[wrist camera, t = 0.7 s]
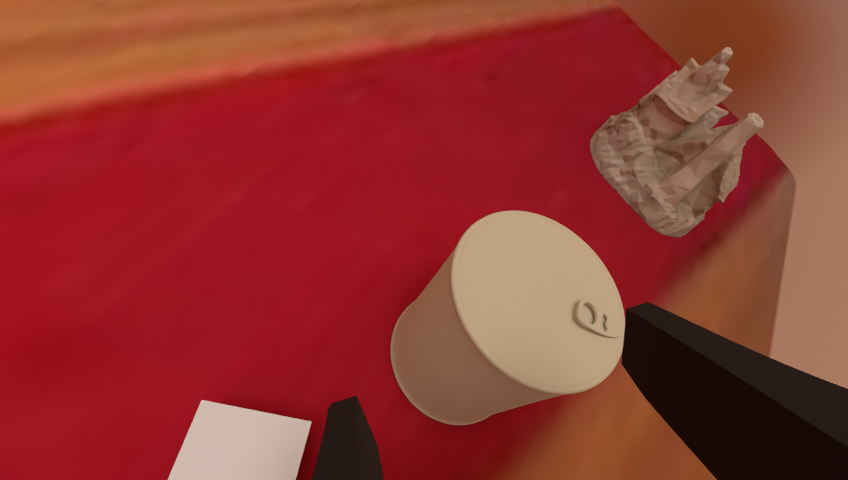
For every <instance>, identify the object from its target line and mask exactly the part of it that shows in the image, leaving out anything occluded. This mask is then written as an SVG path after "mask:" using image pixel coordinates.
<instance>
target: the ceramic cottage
mask: <svg viewBox="0 0 848 480" xmlns="http://www.w3.org/2000/svg"><path fill="white" fill-rule="evenodd" d="M732 54H733V52H732V50H731V48H728V47H726V48H724V49H723V50H722V51H721V52H720V53H718V54H717V55H715V56H714V57H713V58H712V59H711V60H710V61H708V62H707V63H705V64H704V65H703V66H699V65H698V64H697V63H696V62H695V60H694V59H693V58H691V59H689V60H688V62H687V63H686V64H685V65H684V66H683V67H682V68H681V69H680V71H679V72H677V71H675V72H673V73H672V74H671V75H669V76H668V77H667V78H666V79H665V80H664V81H663V82H662V83H661V84H659V85H658V86H657V87H655V88H654V89H653V90H652V91H651V92H650V93H648V94H647V95H646V96H644V97H643V98H641V99H640V100H639V102H638V104H637V105H636V106H634V107H633V108H632V109H630V110H628V111H627V112H621V113H620V114H619V115H616V116H613V115H611V116H610V117H609V119H608V120H607V121H606V122H605V123H604V124H603V125H601V127H600V128H599V129H598V130H597V131H596V132H595V134H594V135H593V138H592V139H591V141H590V149H591V153H592V157H593V159H594V161H595V164H596V166H597V168H598V170H599V172H600V173H601V174H602V175H603V177H604V178H605V179H606V180H607V181H608V182H609V184H610V185H611V186H612V187H613V188H614V189H616V190H617V192H618V193H619V194H620V195H621V196H622V197H623V199H624V200H625V201H626V202H627V203H628V204H629V205H630V206H631V207H632V208H633V209H634V210H635V211H636V213H637V214H638V215H639V216H640V217H641V218H642V219H643V220H644V221H645V222H646V223H647V224H648V225H649V226H650V227H652V228H653V229H655V230H657V231H658V232H660V233H661V234H663V235H668V236H672V237H682V236H683V235H685V234H687V233H688V232H689V231H690V230H691V229H693V228H694V227H695V226H696V225H697V224H698V223H700V222H701V221H702V220H703V219H704V215H705V212H706V211H708V210H709V209H710V208H711V207H712V206H713V203H714V202H720V203H723V202H724V200H725V198H726V197H727V195H728V193H730V192H731V191H732V190H733V189H734V188H735V187H736V186H737V183H738V180H739V179H738V176H739V175H740V172H739V169H740V162H741V158H742V149H743V146H744V145H745V144H746V142H745V141H747V140H748V139H749V138H750V137H751V136H753V135H754V134H755V133H756V132H758V131H759V130H760V129H761V128H762V127H763V125H764V121H763V120H762V119H761V117H760V116H759V115H758V114H755V113H750V114H747V115H746V116H745V117H744V118H742V119H741V120H739V121H737V122H736V123H735V124H732V125H726V126H722V127H717V128H714V129H711V128H712V127H713V126H714V125H715V124H716V123H717V122H718V121H719V120H720V119H721V118H723V117H724V116H726V115H727V114H728V111H726V110H724V109H721V108H719V107H717V106H716V105H717V104H719V103H720V102H721V101H722V100H724V99H725V98H726V97H727V96H728V95H729V94H730V93H731V92H732V91H733V90H732V89H730V88H728V87H727V86H725V85H724V84H722V83H723V80H724V78H725V76H726V75H727V73H728V71H729V68H728V67H727V66H726V65H725V62H726V61H727V60H728V59H730V57H731V56H732Z"/></svg>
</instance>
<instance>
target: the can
mask: <svg viewBox="0 0 848 480" xmlns="http://www.w3.org/2000/svg"><path fill="white" fill-rule="evenodd" d="M624 331H625V317H624V310H623V306H622V302H621V298H620V295H619V292H618V290H617V288H616V285H615V283H614V281H613V279H612V277H611V275H610V273H609V272H608V270H607V268H606V267H605V265H604V264H603V262H602V261H601V260H600V258H599V257H598V256H597V255H596V253H595V252H594V251H593V250H592V249H591V248H590V247H589V246H588V245H587V244H586V243H585V242H584V241H583V240H582V239H581V238H579V237H578V236H577V235H576V234H575V233H573V232H572V231H571V230H569V229H568V228H566V227H565V226H563V225H561V224H559V223H558V222H556V221H554V220H552V219H549V218H547V217H544V216H541V215H538V214H535V213H530V212H525V211H503V212H497V213H494V214H491V215H488V216H486V217H484V218H482V219H480V220H479V221H477V222H475V223H474V224H473V225H472V226H471V227H470V228H469V229H468V230H467V231H466V232H465V233H464V234H463V236H462V237H461V239H460V240H459V242H458V244H457V246H456V248H455V249H454V251H453V252H452V253H451V255H450V256H449V257H448V259H447V260H446V261H445V263H444V264H443V266H442V267H441V268H440V270H439V271H438V272H437V273H436V275H435V276H434V277H433V279H432V280H431V281H430V282H429V284H428V285H427V286H426V288H425V289H424V290H423V292H422V293H421V294H420V295H419V297H418V298H417V299H416V300H415V301H414V302H413V303H412V304H410V305H409V306H408V307H407V308H406V309H405V310H404V312H403V313H402V314H401V316H400V317H399V319H398V321H397V323H396V325H395V328H394V331H393V334H392V339H391V348H390V353H391V363H392V368H393V372H394V375H395V378H396V380H397V383H398V385H399V386H400V388H401V390H402V392H403V393H404V395H405V396H406V397H407V399H408V400H409V401H410V402H411V403H412V404H413V405H414V406H415V407H416V408H417V409H418V410H419V411H421V412H422V413H423V414H425V415H426V416H428V417H430V418H432V419H434V420H436V421H439V422H442V423H445V424H450V425H469V424H473V423H477V422H480V421H482V420H484V419H486V418H487V417H489V416H490V415H493V414H496V413H500V412H503V411H506V410H510V409H513V408H517V407H520V406H523V405H527V404H530V403H534V402H537V401H541V400H545V399H549V398H552V397H556V396H560V395H565V394H574V393H579V392H582V391H586V390H588V389H590V388H592V387H594V386H596V385H598V384H599V383H600V382H602V381H603V380H604V379H605V378H606V377H607V376H608V375H609V374H610V373H611V372H612V371H613V369H614V368H615V366H616V365H617V363H618V360H619V358H620V356H621V353H622V350H623V342H624Z"/></svg>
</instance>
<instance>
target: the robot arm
mask: <svg viewBox="0 0 848 480" xmlns="http://www.w3.org/2000/svg"><path fill="white" fill-rule="evenodd" d="M622 365H623V366H624V368H625V369H626V371H627V372H628V374H629V375H630V377H631V378H632V380H633V381H634V383H635V384H636V385H637V387H638V388H639V390H640V391H641V392H642V394H643V395H644V397H645V398H646V399H647V400H648V402H649V403H650V404H651V405H652V406H653V407H654V409H655V410H656V411H657V412H658V413H659V414H660V416H661V417H662V418H663V419H664V420H665V421H666V422H667V424H668V425H669V426H670V427H671V428H672V429H673V430H674V431H675V433H676V434H677V435H678V436H679V437H680V438H681V439H682V440H683V442H684V443H685V444H686V445H687V446H688V447H689V448H690V450H691V451H692V452H693V453H694V454H695V455H696V456H697V457H698V459H699V460H700V461H701V462H702V463H703V464H704V465H705V466H706V468H707V469H708V470H709V471H710V472H711V473H712V474H713V475H714V477H715V478H716V479H717V480H848V389H846V388H844V387H841V386H838V385H836V384H833V383H830V382H828V381H825V380H822V379H820V378H817V377H815V376H812V375H810V374H807V373H805V372H803V371H800V370H798V369H795V368H793V367H790V366H788V365H785V364H783V363H780V362H778V361H776V360H773V359H771V358H769V357H767V356H764V355H762V354H760V353H757V352H755V351H753V350H751V349H748V348H746V347H744V346H742V345H739V344H737V343H735V342H733V341H731V340H728V339H726V338H724V337H722V336H720V335H718V334H715V333H713V332H711V331H709V330H707V329H705V328H703V327H701V326H698V325H696V324H694V323H692V322H690V321H688V320H686V319H684V318H681V317H679V316H677V315H675V314H673V313H671V312H669V311H666V310H664V309H662V308H660V307H658V306H655V305H653V304H651V303H649V302H646V303H643V304H640V305H637V306H634V307H631V308H628V309H626V320H625V331H624V342H623V353H622ZM311 480H384V479H383V473H382V467H381V462H380V456H379V451H378V445H377V443H376V441H375V438H374V436H373V434H372V431H371V429H370V426H369V424H368V422H367V419H366V417H365V415H364V412H363V410H362V407H361V405H360V403H359V400H358V398H357V396H354V397H351V398H348V399H344V400H341V401H338V402H335V403H332V404H331V406H330V407H329V409H328V415H327V420H326V425H325V429H324V434H323V438H322V442H321V446H320V450H319V454H318V458H317V461H316V465H315V469H314V472H313V476H312V479H311Z"/></svg>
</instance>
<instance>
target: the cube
mask: <svg viewBox="0 0 848 480" xmlns="http://www.w3.org/2000/svg"><path fill="white" fill-rule="evenodd" d="M311 422H312V421H306V420H301V419H296V418H291V417H286V416H281V415H276V414H271V413H266V412H260V411H255V410H250V409H245V408H240V407H235V406H230V405H225V404H220V403H214V402H209V401H204V400H202V401H201V403H200V405H199V408H198V410H197V412H196V415H195V417H194V419H193V422H192V424H191V426H190V429H189V431H188V433H187V436H186V438H185V440H184V443H183V445H182V447H181V450H180V452H179V455H178V457H177V459H176V462H175V464H174V466H173V469H172V471H171V473H170V476H169V478H168V480H296V477H297V473H298V470H299V466H300V462H301V459H302V455H303V451H304V448H305V444H306V440H307V437H308V433H309V429H310V426H311Z"/></svg>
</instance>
